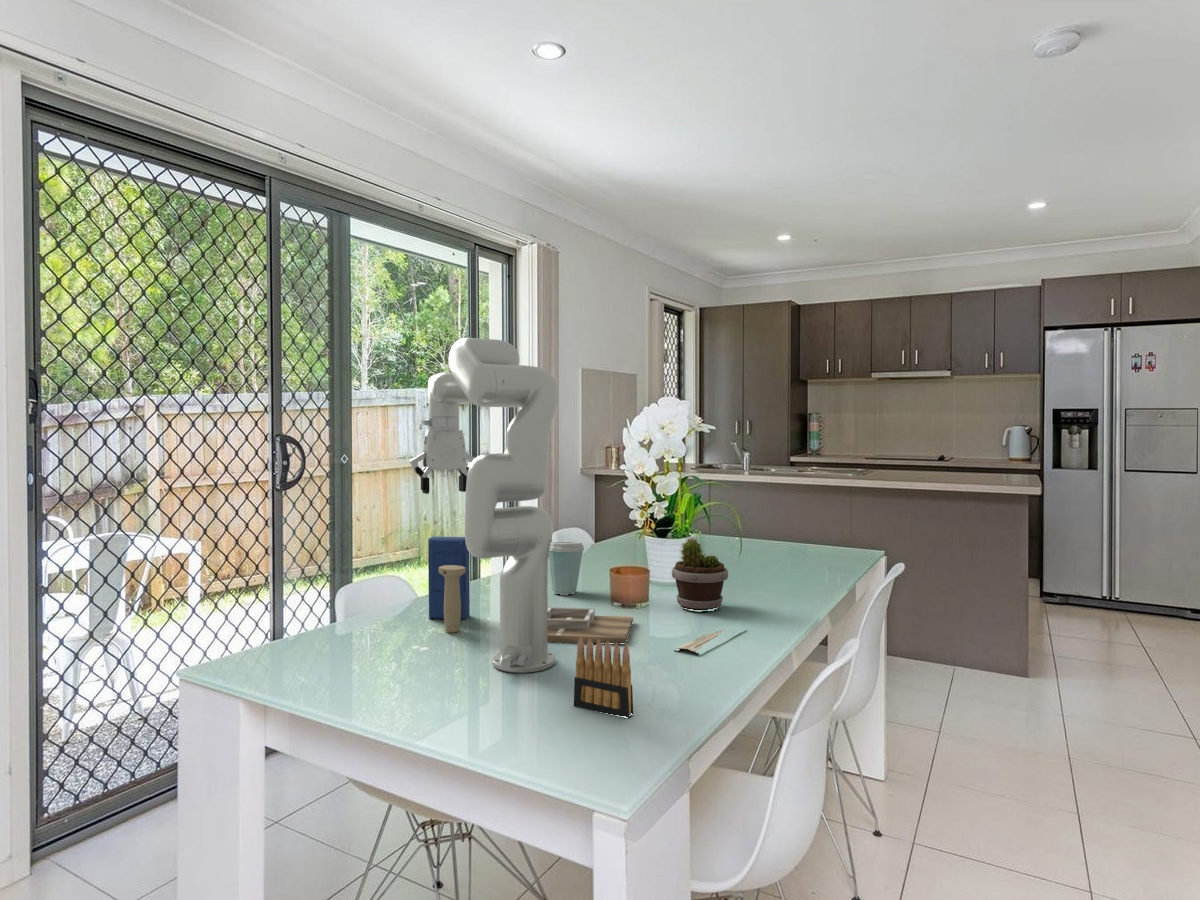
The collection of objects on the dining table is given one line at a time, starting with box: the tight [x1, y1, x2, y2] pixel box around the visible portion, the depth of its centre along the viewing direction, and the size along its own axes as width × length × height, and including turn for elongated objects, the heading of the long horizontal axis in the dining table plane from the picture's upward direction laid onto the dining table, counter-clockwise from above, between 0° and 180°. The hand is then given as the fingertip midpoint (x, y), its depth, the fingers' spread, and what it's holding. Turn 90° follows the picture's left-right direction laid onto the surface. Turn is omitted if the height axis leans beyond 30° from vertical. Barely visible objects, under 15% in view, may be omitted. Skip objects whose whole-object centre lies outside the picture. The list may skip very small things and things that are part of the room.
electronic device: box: [427, 536, 471, 620], centre depth 182 cm, size 10×5×20 cm, turn 84°
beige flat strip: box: [676, 629, 725, 653], centre depth 163 cm, size 24×7×2 cm, turn 144°
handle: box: [439, 565, 466, 634], centre depth 169 cm, size 5×6×15 cm
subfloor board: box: [548, 606, 634, 644], centre depth 169 cm, size 18×22×4 cm
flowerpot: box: [671, 534, 729, 610], centre depth 191 cm, size 14×15×20 cm
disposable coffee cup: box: [548, 540, 585, 596], centre depth 208 cm, size 11×11×15 cm
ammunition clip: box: [573, 636, 634, 717], centre depth 122 cm, size 11×2×12 cm, turn 59°
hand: (444, 492), depth 183 cm, fingers open, 9 cm apart
